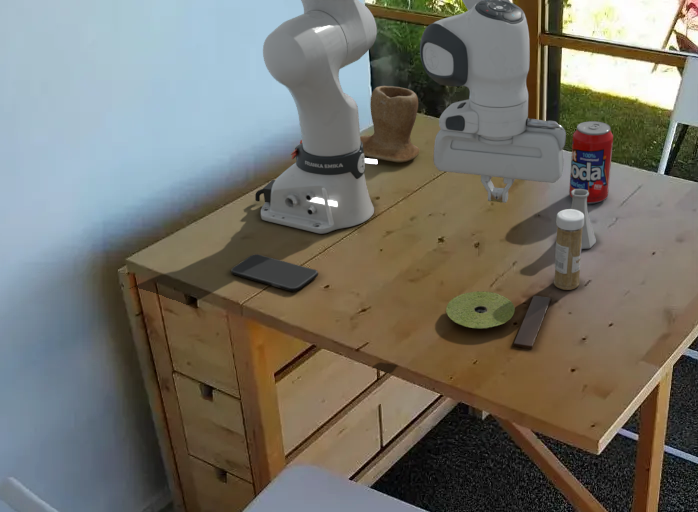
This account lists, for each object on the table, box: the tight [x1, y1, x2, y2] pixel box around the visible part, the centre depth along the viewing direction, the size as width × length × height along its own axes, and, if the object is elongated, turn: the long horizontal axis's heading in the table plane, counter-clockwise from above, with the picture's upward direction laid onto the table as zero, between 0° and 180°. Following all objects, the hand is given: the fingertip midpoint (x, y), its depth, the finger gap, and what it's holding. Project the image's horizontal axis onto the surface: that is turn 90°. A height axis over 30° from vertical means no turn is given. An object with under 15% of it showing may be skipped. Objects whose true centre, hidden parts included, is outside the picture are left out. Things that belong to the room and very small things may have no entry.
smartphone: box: [230, 253, 319, 292], centre depth 167 cm, size 7×1×15 cm
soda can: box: [568, 120, 614, 205], centre depth 186 cm, size 8×8×15 cm
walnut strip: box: [513, 295, 552, 350], centre depth 153 cm, size 3×15×1 cm, turn 164°
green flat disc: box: [445, 291, 516, 329], centre depth 154 cm, size 11×11×2 cm
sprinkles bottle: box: [553, 208, 584, 291], centre depth 159 cm, size 5×5×13 cm
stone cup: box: [360, 85, 420, 164], centre depth 205 cm, size 15×12×15 cm
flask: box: [570, 189, 597, 250], centre depth 172 cm, size 7×7×10 cm
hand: (497, 200), depth 149 cm, fingers closed
